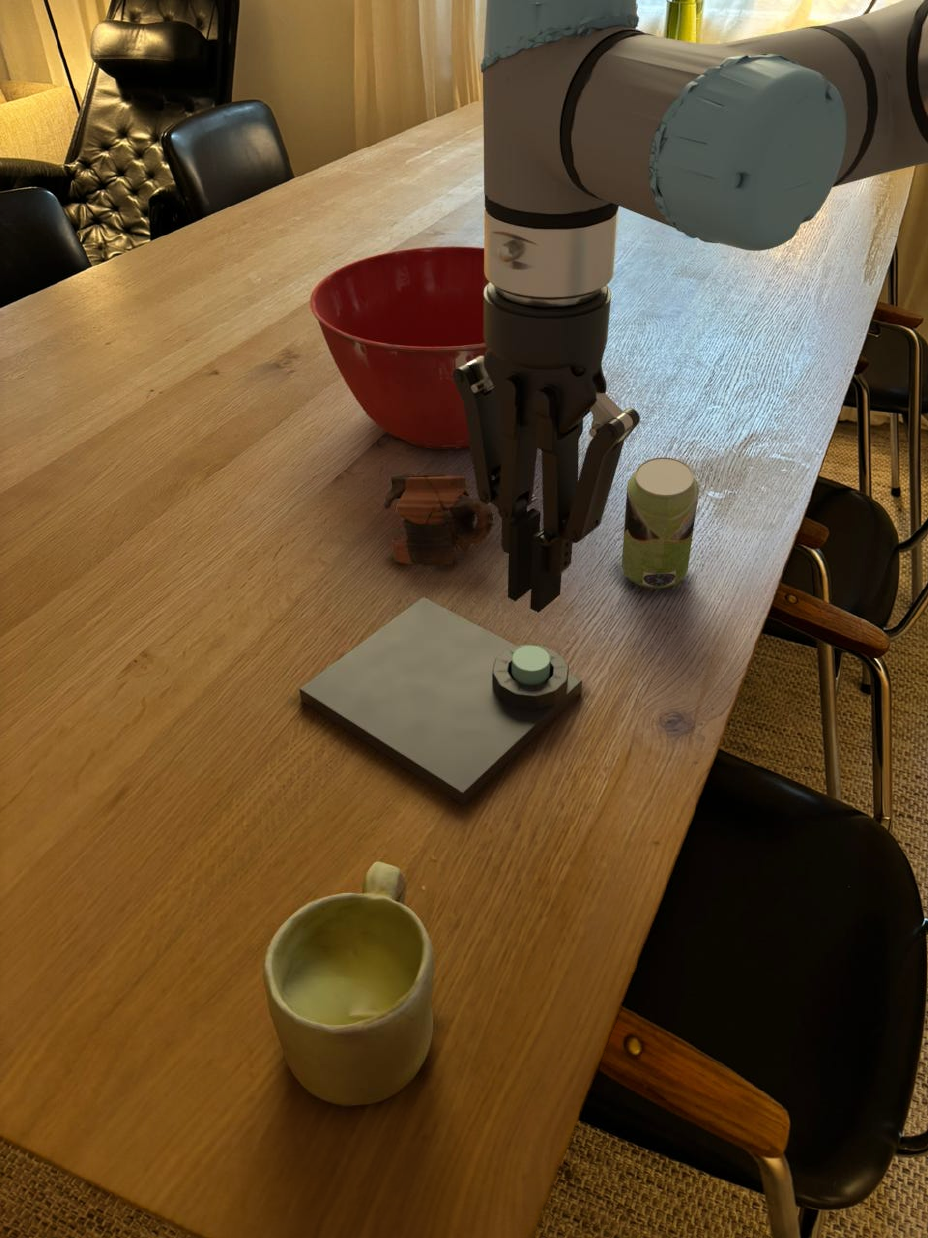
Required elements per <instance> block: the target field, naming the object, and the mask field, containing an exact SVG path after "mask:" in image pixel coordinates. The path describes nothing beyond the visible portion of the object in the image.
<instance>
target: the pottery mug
mask: <svg viewBox="0 0 928 1238" xmlns="http://www.w3.org/2000/svg"><path fill="white" fill-rule="evenodd" d="M467 481H468V477H466V476H463V475H445V474H444V475H443V474H442V475H441V474H433V475H429V474H424V475H422V474H421V475H420V474H419V475H418V474H417V475H394V476H391V477H390V482H389V483H391V488H390V489H389V490H388V492H387V493H386V494H385V496H384V500H383V503H382V506H383V508H384V509H385V510H388V509H390V508H391V506H392V503H393V502H395V500H398V502H397V505H396V513H397V515H398V517H399V518H401V519H402V520H403V527H404V530H405V535H406V538H404V539H403V538H401V539H398V538H394V539H392V540H391V549H392V553H393V558H394V561H395V562H396V563H398V564H404V565H407V564H408V565H422V566H425V567H426V566H430V567H431V566H432V567H433V566H434V567H435V566H448V565H452V564H453V563H454V554H455V551H456V550H455V549H456V547H457V548H459V550H460V551H463V552H466V551H468V550H469V549H470V548H471V546H472V545H477V544H479V543H481V542H483V541H484V540H485V539H487V537H488V536H489V535H490V533H491V531H492V529H493V526H494V525H495V521H494V519H495V518H494V512H493V509H492V508H491V506H490V505H489V503H488V504H484V503H482V502H481V501H480V499H479V498H472V497H471V492H470V491H469V489H468V488H467ZM445 511H448V512H449V514H450V516H451V517H450V519H447V516H446V512H445ZM475 521H476V524H475Z"/></svg>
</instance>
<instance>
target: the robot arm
mask: <svg viewBox="0 0 928 1238" xmlns="http://www.w3.org/2000/svg"><path fill="white" fill-rule="evenodd" d="M485 8H486V9H485V27H484V28H485V29H484V45H483V59H482V62H481V63H480V73H482V95H483V96H482V107H483V108H482V112H483V113H482V114H483V115H482V116H483V118H482V119H483V193H484V211H483V212H484V217H483V218H484V225H483V226H484V227H483V228H484V230H483V231H484V232H483V233H484V234H483V235H484V237H483V239H484V240H483V244H484V245H483V248H484V273H485V277H486V278H487V280H488V281H489V283H488V284H487V285H486V287H485V289H484V342H485V345H486V347H487V348H488V349H487V351H486V352H485V355H484V356H478V357H476V358H475V359H473V360H471V361H469V362H467V363H465V364H464V365H462V366H460V367H458V368H456V369H455V370H454V372H453V378H454V381H455V383H456V386H457V388H458V390H459V393H460V395H461V397H462V400H463V402H464V408H465V415H466V421H467V428H468V434H469V441H470V447H469V448H470V455H471V459H472V460H471V461H472V466H473V475H474V480H475V487H476V494H477V499H480V501H481V502H482V503H484V504H488V505H489V504H490V503H491V505H493V506H494V507H495V508H496V509H497V514H498V516H499V518H501V526H500V527H501V528H500V529H501V534H500V536H501V537H500V538H501V539H500V545H501V549H502V552H503V553H505V554H507V555H508V560H507V565H508V567H507V568H508V569H507V598H508V599H510V600H512V601H513V602H517V601H518V600H520V599H521V598H522V597H523V596H524V595H526V594H528V592H529V591H530V600H529V601H530V605H529V609H530V610H532V611H534V612H536V613H540V612H542V611H543V610H544V609H545V608H546V607H547V606H549V605H550V604H551V603H552V602H553V601H554V600H556V599H557V598H558V597H559V596H561V588H562V587H561V586H562V573H563V572H564V571H566V570H567V569H568V568H569V567H570V566H571V564H572V559H573V557H572V555H573V544H577V543H579V542H581V541H582V540H583V539H584V538H586V537H587V536H589V534H591V533H592V532H594V530H595V529H597V528H598V527H599V526H600V525H601V524H602V520H603V516H604V513H605V509H606V507H607V503H608V499H609V495H610V492H611V489H612V485H613V482H614V478H615V475H616V471H617V468H618V464H619V461H620V458H621V454H622V451H623V447H624V444H625V441H626V440H627V438H629V435H631V433H632V432H633V431H634V430H635V429H636V427H637V426H638V425H639V423H640V421H641V417H640V414H639V412H638V411H637V410H636V409H635V408H633V407H627V408H625V409H623V410H622V409H621V408H620V407H619V406H618V404H616V403H615V402H614V401H613V400H612V399H611V397H610V396H609V395H607V389H608V384H607V380H606V376H605V374H604V371H603V358H604V355H605V352H606V348H607V344H608V339H609V338H608V337H609V325H610V315H611V314H610V313H611V301H612V291H611V289H610V287H609V286H608V285H609V284H610V283H611V282H612V279H613V278H614V271H615V259H616V246H617V245H616V244H617V233H618V231H617V230H618V220H619V208H623V209H626V210H628V211H630V212H633V213H636V214H638V215H641V216H643V217H645V218H648V219H651V220H653V221H656V222H659V223H661V224H664V225H665V226H668V227H671V228H673V229H675V230H676V231H677V232H680V233H683V234H684V235H685V236H687V237H688V238H691V239H696V238H697V239H699V240H700V241H701V242H704V243H708V244H721V245H725V246H729V247H732V248H736V249H739V250H745V251H751V252H753V251H754V252H758V251H759V252H760V251H767V250H771V249H774V248H776V247H777V248H778V247H779V246H781V245H783V244H785V243H787V242H789V241H790V240H792V239H793V238H794V237H795V236H796V234H797V233H798V231H799V228H800V226H801V225H802V224H804V223H807V222H810V221H812V220H813V219H814V218H815V216H816V215H817V214H818V212H819V211H820V210H821V209H822V207H823V205H824V204H825V202H826V200H827V199H828V197H829V195H830V193H831V191H832V189H833V188H836V187H839V186H843V185H847V184H849V183H853V182H857V181H861V180H864V179H868V178H872V177H875V176H879V175H883V174H887V173H891V172H894V171H899V170H902V169H908V168H912V167H915V166H919V165H923V164H928V0H900V1H898V2H895V3H893V4H890V5H887V6H885V7H883V8H880V9H876V10H874V11H871V12H868V13H865V14H861V15H858V16H854V17H851V18H847V19H842V20H839V21H835V22H830V23H826V24H822V25H813V26H807V27H806V26H805V27H801V28H797V29H792V30H786V31H781V32H775V33H769V34H763V35H759V36H753V37H749V38H743V39H738V40H732V41H727V42H721V43H699V42H691V41H686V40H679V39H674V38H669V37H663V36H657V35H654V34H651V33H646V32H644V31H642V30H639V29H637V28H638V26H639V21H640V17H639V16H638V13H637V0H486V7H485ZM501 402H502V403H501ZM590 412H591V415H592V422H591V425H590V426H591V427H590V428H589V430H588V434H589V436H590V437H591V438H592V439H591V440H590V441H589V444H588V446H587V448H586V451H585V454H584V458H583V461H582V462H583V463H582V465H581V469H580V474H579V445H580V444H579V441H580V438H581V437H582V435H583V432H584V419H585V417H586V416H587V415H588V414H589V413H590ZM538 450H540V451H541V481H542V482H541V483H542V484H541V486H542V488H541V489H542V490H541V491H542V511H541V510H538V509H536V508H535V507H531V508H530V509H529V510H528V507H530V506H531V505H532V504H534V503H535V502H536V501H537V500H538V499H539V496H536V495H535V494H534V485H535V477H536V467H537V458H538ZM541 517H542V519H541ZM541 520H542V528H541Z"/></svg>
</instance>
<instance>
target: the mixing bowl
mask: <svg viewBox="0 0 928 1238" xmlns="http://www.w3.org/2000/svg"><path fill="white" fill-rule="evenodd" d="M488 283H489V281H488V280H487V278H486V277H485V273H484V247H478V246H459V245H457V246H456V245H453V246H426V247H416V248H415V247H414V248H408V249H407V248H406V249H400V250H394V251H388V252H384V253H380V254H375V255H372V256H369V257H365V258H362V259H359V260H355V261H353V262H351V263H348V264H345V265H343V266H342V267H340V268H337V269H336V270H334V271H332V272H331V273H329V274H328V275H326V276H325V277H324V278H323V279H321V280H320V281H319V282H318V283H317V285H316V286H315V287H314V288H313V291H312V293H311V294H310V295H311V296H310V299H309V304H310V306H309V307H310V309H311V312H312V314H313V315H314V317H315V319H316V320H317V321H318V324H319V327H320V330H321V333H322V335H323V337H324V338H323V339H324V340H325V343H326V345H327V347H328V349H329V352H330V354H331V356H332V358H333V361H334V363H335V365H336V368H338V370H339V371H338V372H339V373H340V374H341V376H342V378H343V380H344V382H345V384H346V385H347V387H348V389H349V390H350V392H351V394H352V395H353V397H354V398H355V400H356V401H357V403H358V404H359V406H360V407H361V408H362V410H363V411H364V412H365V414H366V415H367V416H368V417H369V418H370V419H371V420H372V421H373V422H374V423H375V424H376V425H377V426H378V427H380V428H381V429H382V430H383V431H385V432H387V433H389V434H391V435H393V436H394V437H396V438H399V440H400V439H401V440H403V441H405V442H407V443H409V444H411V445H414V446H419V447H422V448H426V449H427V448H428V449H435V450H456V449H464V448H470V441H469V434H468V428H467V421H466V415H465V408H464V402H463V400H462V397H461V395H460V393H459V390H458V388H457V386H456V383H455V381H454V378H453V372H454V370H455V369H456V368H458V367H460V366H462V365H464V364H465V363H467V362H469V361H471V360H473V359H475V358H476V357H478V356H484V355H485V352H486V351H487V349H488V348H487V347H486V345H485V342H484V289H485V287H486V285H487V284H488ZM501 403H502V402H501Z"/></svg>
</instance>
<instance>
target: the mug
mask: <svg viewBox="0 0 928 1238" xmlns="http://www.w3.org/2000/svg"><path fill="white" fill-rule="evenodd" d="M406 897H407V881H406V878H405V876H404V874H403V872H402V870H401V869H400V868H399V867H397V866H395V865H392V864H389V863H386V862H383V861H379V860H378V861H377V860H376V861H374V862H373V864H372V865H371V866H370V867H369V868H368V870H367V871H366V873H365V876H364V878H363V880H362V886H361V893H354V892H342V893H337V894H332V895H328V896H324V897H321V898H319V899H318V898H317V899H315V900H312V901H310V902H308V903H306V904H305V905H303V906H301V907H300V908H298V909H297V910H296V911H295V912H293V913H292V914H291V915H290V916H289V917H288V918H287V919H286V920H285V921H284V922H283V923H282V924H281V925H280V926H279V927H278V928H277V930H276V931H275V933H274V934H273V937H272V938H271V940H270V941H269V942H268V945H267V948H266V950H265V954H264V957H263V966H262V969H263V970H262V977H263V978H262V979H263V984H264V989H265V993H266V999H267V1006H268V1011H269V1015H270V1017H271V1018H270V1019H271V1020H272V1024H273V1026H274V1029H275V1032H276V1035H277V1038H278V1041H279V1044H280V1046H281V1049H282V1052H283V1056H284V1059H285V1061H286V1064H287V1066H288V1067H289V1070H290V1071H291V1073H292V1074H293V1076H294V1077H295V1079H296V1080H297V1081H298V1083H300V1085H301V1086H302V1087H303V1088H304V1089H305V1090H306V1091H307V1092H308V1093H310V1094H311V1095H313V1096H315V1097H317V1098H318V1099H320V1100H321V1101H324V1102H327V1103H330V1104H334V1105H336V1106H342V1107H354V1106H362V1105H364V1106H365V1105H372V1104H377V1103H380V1102H382V1101H384V1100H386V1099H388V1098H390V1097H392V1096H394V1095H396V1094H398V1093H399V1092H400V1091H401V1090H403V1089H404V1088H405V1087H407V1086H408V1085H409V1084H410V1083H411V1082H412V1081H413V1080H414V1079H415V1077H416V1075H417V1074H418V1072H419V1071H420V1069H421V1067H422V1066H423V1064H424V1063H425V1061H426V1058H427V1056H428V1053H429V1051H430V1048H431V1044H432V1041H433V1034H434V1013H433V1005H432V1002H433V1001H432V1000H433V992H434V991H433V990H434V980H435V979H434V978H435V956H434V948H433V943H432V941H431V938H430V935H429V933H428V932H427V929H426V928H425V927H426V926H425V925H424V924H423V922H422V920H421V919H420V918H419V916H417V914H416V913H415V912H414V911H413V910H412V909H411V908H409V907H408V906H406V905H407V904H406Z"/></svg>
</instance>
